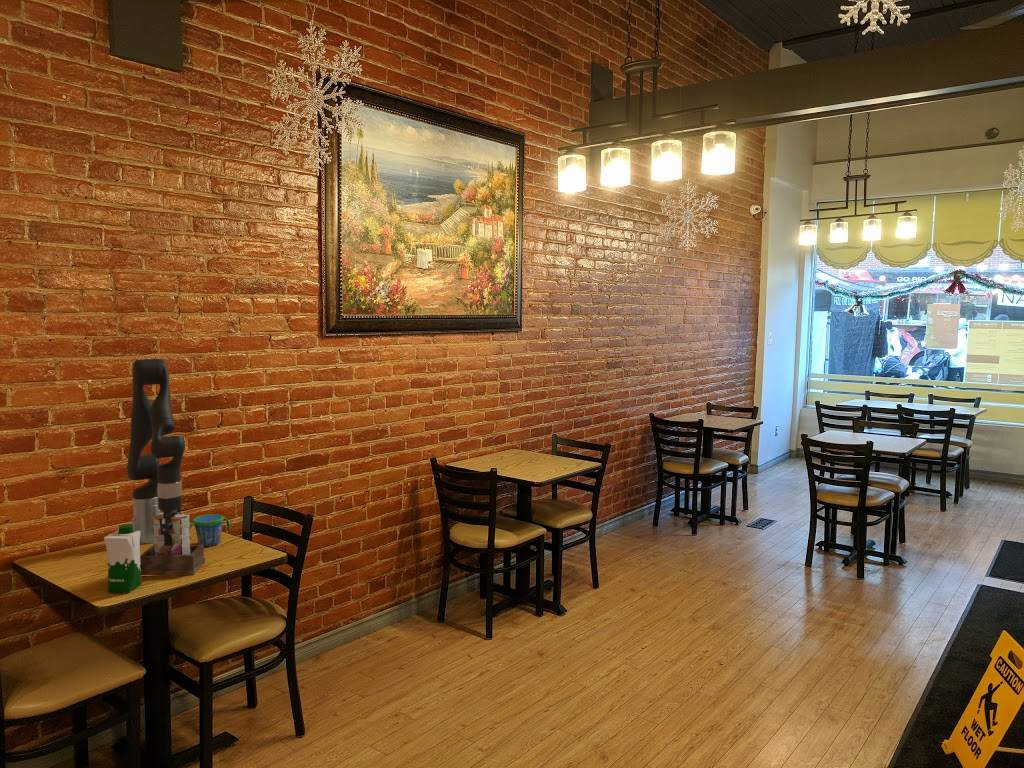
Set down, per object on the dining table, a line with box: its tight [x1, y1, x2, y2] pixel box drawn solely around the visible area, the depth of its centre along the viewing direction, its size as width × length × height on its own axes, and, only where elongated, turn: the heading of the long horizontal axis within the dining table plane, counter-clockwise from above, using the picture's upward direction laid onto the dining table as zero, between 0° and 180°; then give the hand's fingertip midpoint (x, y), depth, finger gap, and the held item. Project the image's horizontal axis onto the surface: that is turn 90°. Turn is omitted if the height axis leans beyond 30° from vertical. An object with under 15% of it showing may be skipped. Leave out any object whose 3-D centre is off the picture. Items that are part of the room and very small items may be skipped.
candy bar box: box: [152, 512, 191, 556], centre depth 249 cm, size 11×5×16 cm, turn 80°
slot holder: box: [140, 544, 206, 576], centre depth 250 cm, size 18×12×6 cm, turn 96°
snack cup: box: [190, 513, 231, 547], centre depth 276 cm, size 16×10×10 cm
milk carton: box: [103, 523, 142, 594], centre depth 231 cm, size 9×9×20 cm
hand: (171, 542), depth 249 cm, fingers open, 6 cm apart
